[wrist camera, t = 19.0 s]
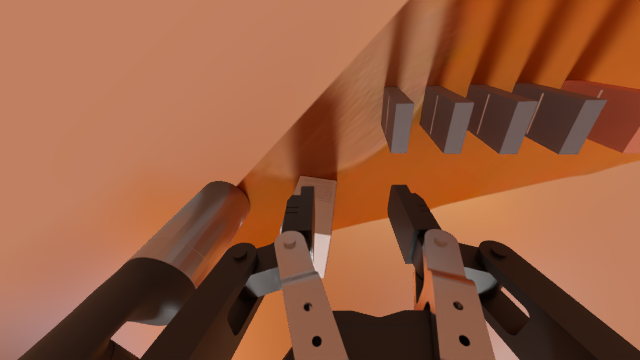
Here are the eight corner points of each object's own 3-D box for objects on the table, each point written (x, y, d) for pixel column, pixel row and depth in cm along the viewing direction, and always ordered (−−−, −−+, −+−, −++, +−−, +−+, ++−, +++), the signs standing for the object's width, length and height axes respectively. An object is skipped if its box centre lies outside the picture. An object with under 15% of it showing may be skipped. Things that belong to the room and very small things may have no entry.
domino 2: (419, 124, 32) (443, 153, 24) (426, 85, 30) (455, 102, 21) (431, 124, 32) (460, 153, 24) (439, 85, 30) (474, 102, 21)
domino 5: (546, 121, 30) (622, 152, 22) (565, 80, 28) (659, 96, 19) (560, 121, 30) (642, 153, 22) (580, 79, 28) (682, 96, 19)
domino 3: (459, 123, 32) (499, 153, 23) (469, 84, 29) (518, 101, 21) (472, 123, 32) (517, 154, 23) (483, 84, 29) (538, 101, 20)
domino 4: (501, 123, 31) (558, 154, 22) (515, 83, 29) (585, 100, 20) (515, 123, 31) (577, 154, 22) (530, 82, 28) (607, 99, 20)
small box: (331, 217, 43) (324, 279, 31) (297, 212, 43) (278, 271, 32) (338, 179, 38) (331, 235, 27) (300, 174, 39) (278, 227, 28)
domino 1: (381, 124, 33) (390, 153, 24) (384, 86, 31) (396, 103, 22) (392, 124, 33) (406, 153, 24) (397, 86, 30) (414, 103, 22)
